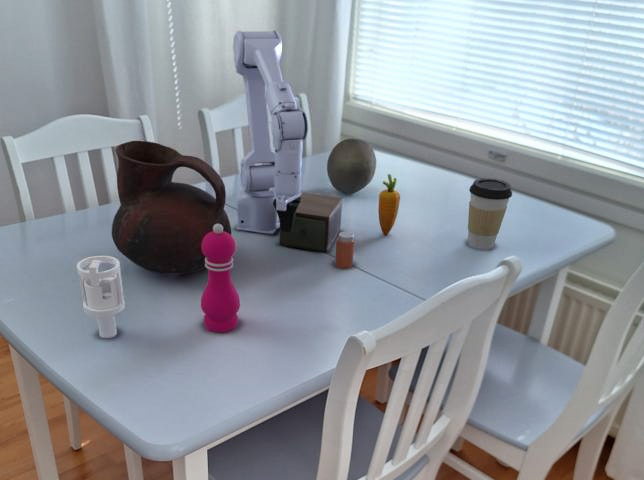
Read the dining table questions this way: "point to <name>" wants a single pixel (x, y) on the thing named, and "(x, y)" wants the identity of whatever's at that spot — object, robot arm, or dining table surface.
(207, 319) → the pepper mill
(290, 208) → the robot arm
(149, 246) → the jug
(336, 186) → the cantaloupe
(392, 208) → the carrot
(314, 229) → the drawer
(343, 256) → the orange jar
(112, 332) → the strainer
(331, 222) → the cabinet
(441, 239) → the dining table surface
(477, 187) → the coffee cup
